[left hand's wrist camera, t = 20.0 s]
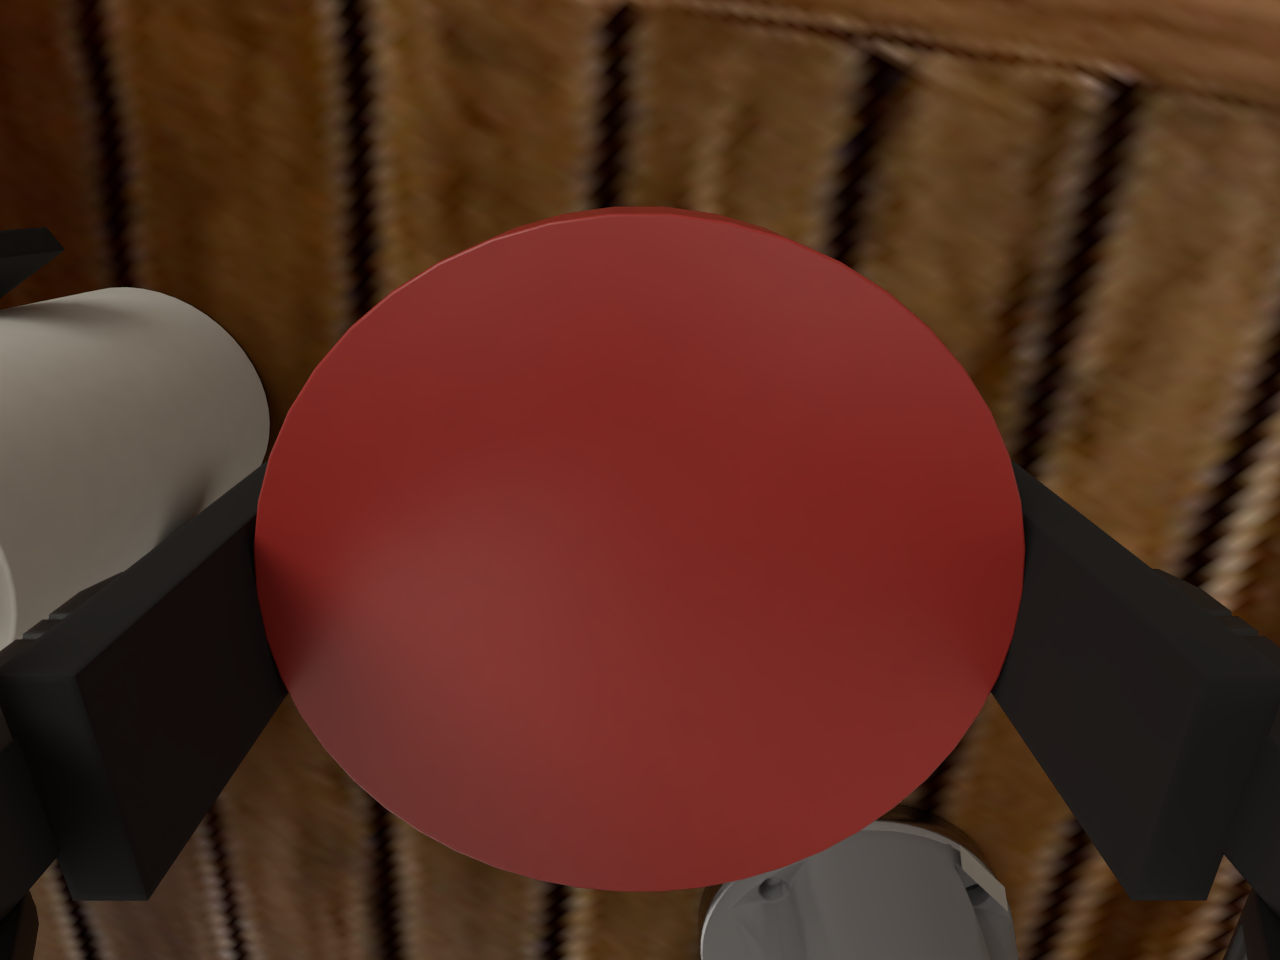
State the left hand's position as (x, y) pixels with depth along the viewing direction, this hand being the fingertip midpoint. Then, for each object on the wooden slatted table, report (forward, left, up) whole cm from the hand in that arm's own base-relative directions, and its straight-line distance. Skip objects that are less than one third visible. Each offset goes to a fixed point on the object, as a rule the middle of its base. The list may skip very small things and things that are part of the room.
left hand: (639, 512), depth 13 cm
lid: (0, 0, +3) cm, 3 cm away
